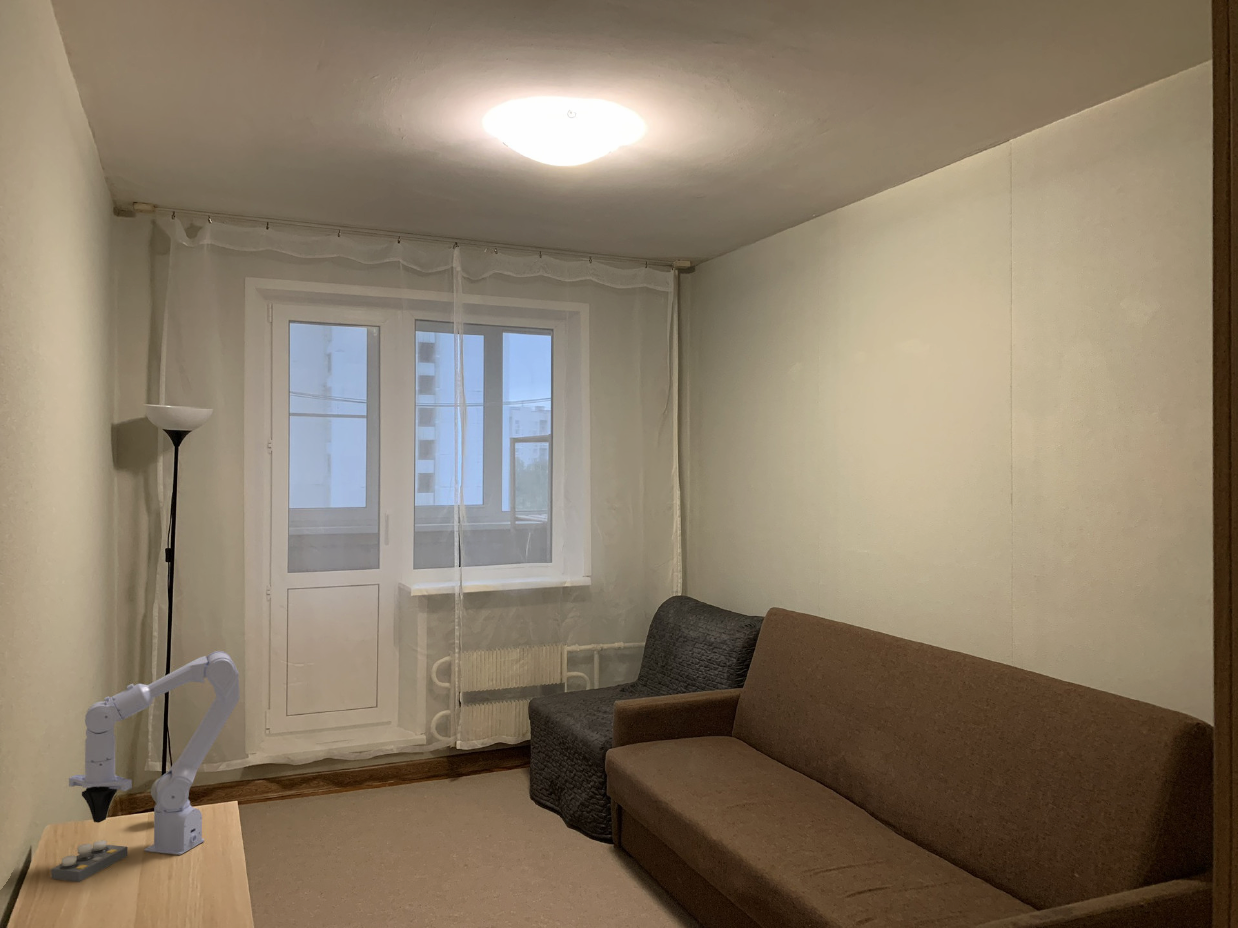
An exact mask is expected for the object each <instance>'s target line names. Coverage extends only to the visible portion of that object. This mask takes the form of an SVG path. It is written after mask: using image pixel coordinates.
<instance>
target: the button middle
mask: <svg viewBox="0 0 1238 928" xmlns="http://www.w3.org/2000/svg"><path fill="white" fill-rule="evenodd" d="M92 848H93V843H92V844H91V843H83V844H81V845H79V846H78V847H77V854H78V855H80V854H87V853H90V852H91V851H92Z"/></svg>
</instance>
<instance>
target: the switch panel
mask: <svg viewBox="0 0 1238 928" xmlns="http://www.w3.org/2000/svg"><path fill="white" fill-rule="evenodd" d="M128 848H129V847H128V846H124V845H115V844H106V848H105V849H103V850H99V851H94V850H93V847H92V851H91V852H90V853H87V854H78V855H76V856H77V862H76V864H74V865H71V866H62V863H61V864H58V865H56V866H55V867H52V868H51V869H50V871H51V872H50V874H51V875H50V879H51V878H53V879H52V880H61V881H68V882H76V883H77V882H78V883H80V882H81V881H83V880H86V879H87V878H89V877H91V876H93V875H95V874H96V873H98V872H100V871H101V870H104V869H106V868H108V867H110V866H111V865H113V864H115V863H117V862H118V861H121V860H123V859H124V858H126V857H128V855H129V854H128Z"/></svg>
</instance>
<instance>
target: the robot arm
mask: <svg viewBox="0 0 1238 928" xmlns="http://www.w3.org/2000/svg"><path fill="white" fill-rule="evenodd" d="M205 678H206V679H207V681H208V682H209V684H210V685H212V687H213V691H214V694H215V698H214V700H213V701H212V703H211V704H210V706H209V708H208V710H207V711H206V713H205V714H204V716H203V718H202V719H201V721H200V723H199V725H198V726H197V728H196V729H195V730H194V732H193V734H192V735H191V738H190V739H189V741H188V743H187V744H186V746H185V748H184V749H183V751H182V753H181V754H180V755H179V757H178V759H177V760H175V762H174V763H173V764H172V765H171V767H170V769H169V770H168V771H167V772H166V773H164V774H163V775H161V776H160V777H159V778H160V779H159V778H158V779H159V780H158V782H157V785H156V791H157V794H158V796H157V802H158V803H157V804H156V803H155V805H154V811H153V814H154V815H153V816H154V817H153V819H154V820H153V822H154V823H153V825H154V826H153V844H150V845H149V846H148V847H146V848H144V851H145V852H148V853H149V852H150V853H159V854H169V855H170V854H171V855H182V854H184V853H186V852H187V851H189V850H191V849H193V848H194V847H196V846H198V845H200V844H202V843H203V842H204V841H205V839H204V838H203V835H202V834H203V831H202V830H203V829H202V828H203V825H202V824H203V815H202V811H201V810H200V809H198V808H195V807H194V806H192V805H191V801H190V799H189V796H190V795H189V793H190V789H191V786H192V785H193V783H194V780H195V777H196V775H197V772H198V769H199V768H200V766H201V765H202V763H203V761H204V760H205V759H206V757H207V755H208V753H209V752H210V750H211V748H212V746H213V744H214V743H215V741H216V739H217V738H218V736H219V734H220V733H221V732H222V730H223V728H224V727H225V724H226V723H227V721H228V719H229V718H230V716H231V715H232V713H233V711H234V709H236V706H237V704H238V703H239V701H240V698H241V697H240V696H241V695H240V672H239V671H238V669H237V666H236V664H235V662H233V659H232V657H231V655H230V654H228V653H227V652H225V651H222V650H216V651H213V652H211V653H209V654H208V655H204V656H200V657H198V658H196V659H194V660H193V661H190V662H188V663H187V664H184V665H183V666H181V667H179V668H177V669H175V670H174V671H171V672H169V673H168V674H166V675H164V676H163V677H160V678H158V679H157V680H155V681H153V682H151V683H149V684H144V683H137V684H134V683H131V684H129V685H127V686H126V689H125V690H123V691H121V692H119V693H117V694H114V695H113V696H109V695H108V696H106V697H104V699H103V700H104V701H102V700H101V701H98V702H95V703H93V704H91V705H90V706H89V707H88V709H87V710H86V714H85V717H84V718H85V719H84V724H85V726H86V731H85V736H86V738H85V741H84V742H85V745H84V747H85V749H84V751H85V753H84V756H85V757H84V774H75V775H73V776H70V777H68V787H69V788H70V787H82V788H86V789H85V790H83V791H81V797H82V798H83V799H84V800H85V801H86V804H87V805H88V808H89V810H90V811H89V812H90V814H91V817H92V821H93V823H101V822H103V821H106V820H107V815H108V812H109V808H110V806H111V804H112V801H113V799H114V797H115V794H116V793H117V792H118V790H121V792H126V791H129V790H130V789H132V786H133V785H132V782H133V781H132V779H130V778H125V777H122V776H118V775H116V735H115V725H116V722H121V721H123V720H126V719H127V718H130V717H132V716H133V715H135V714H137V713H139V712H142V711H144V710H145V709H147V708H149V707H151V706H152V703H153V701H154V699H155V698H158V697H159V696H161V695H163V694H166V693H168V692H170V691H172V690H174V689H177V688H179V687H181V686H183V685H186V684H188V683H190V682H194V683H203V684H204V683H205Z"/></svg>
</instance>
